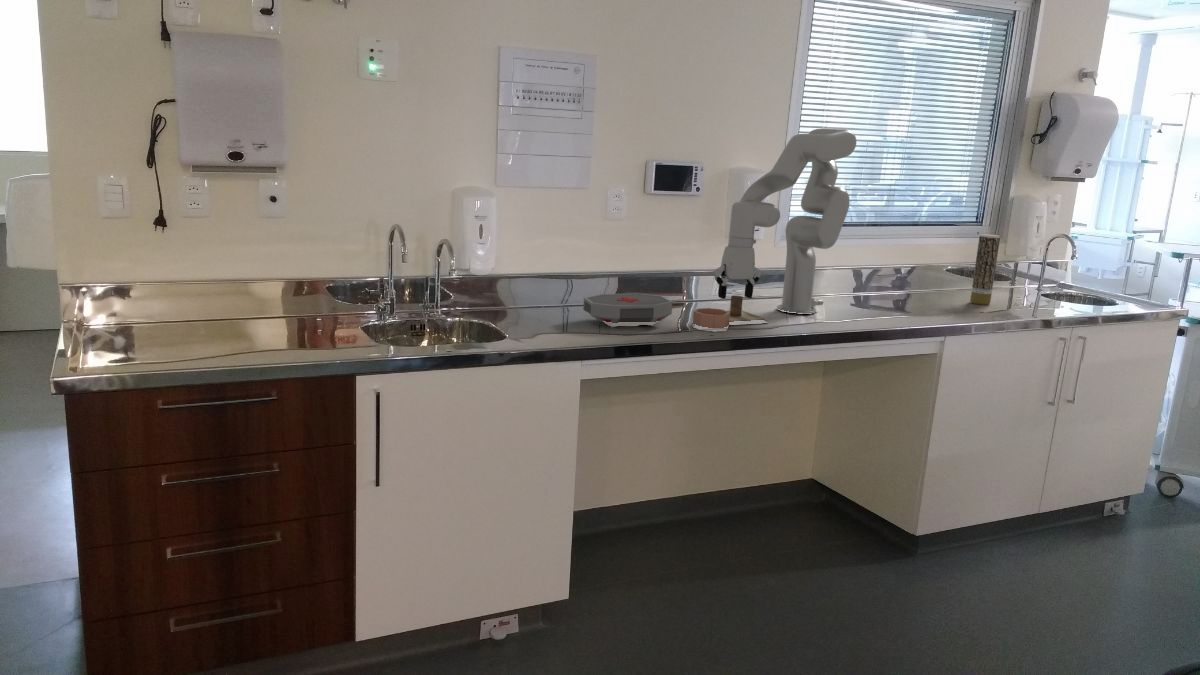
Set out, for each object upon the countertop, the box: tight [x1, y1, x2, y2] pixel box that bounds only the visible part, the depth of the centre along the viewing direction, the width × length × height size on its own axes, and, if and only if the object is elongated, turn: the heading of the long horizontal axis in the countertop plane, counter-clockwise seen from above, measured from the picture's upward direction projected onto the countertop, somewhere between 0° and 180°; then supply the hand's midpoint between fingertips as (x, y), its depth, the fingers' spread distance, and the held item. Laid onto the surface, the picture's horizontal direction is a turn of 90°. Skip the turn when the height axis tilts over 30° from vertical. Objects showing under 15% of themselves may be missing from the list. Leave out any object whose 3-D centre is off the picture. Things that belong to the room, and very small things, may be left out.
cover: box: [727, 295, 766, 322], centre depth 268 cm, size 13×13×7 cm
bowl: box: [692, 307, 730, 328], centre depth 256 cm, size 10×10×5 cm
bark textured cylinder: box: [969, 233, 1001, 306], centre depth 311 cm, size 7×7×25 cm
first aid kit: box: [582, 293, 673, 323], centre depth 257 cm, size 18×8×25 cm
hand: (735, 297), depth 267 cm, fingers open, 9 cm apart
